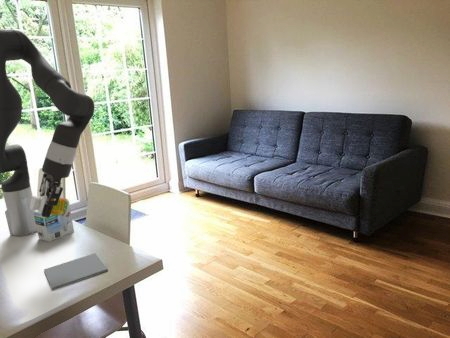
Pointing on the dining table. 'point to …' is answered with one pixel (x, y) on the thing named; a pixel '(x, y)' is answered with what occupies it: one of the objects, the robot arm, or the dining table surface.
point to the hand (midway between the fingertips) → (43, 212)
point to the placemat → (74, 271)
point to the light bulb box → (53, 225)
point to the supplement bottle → (58, 210)
